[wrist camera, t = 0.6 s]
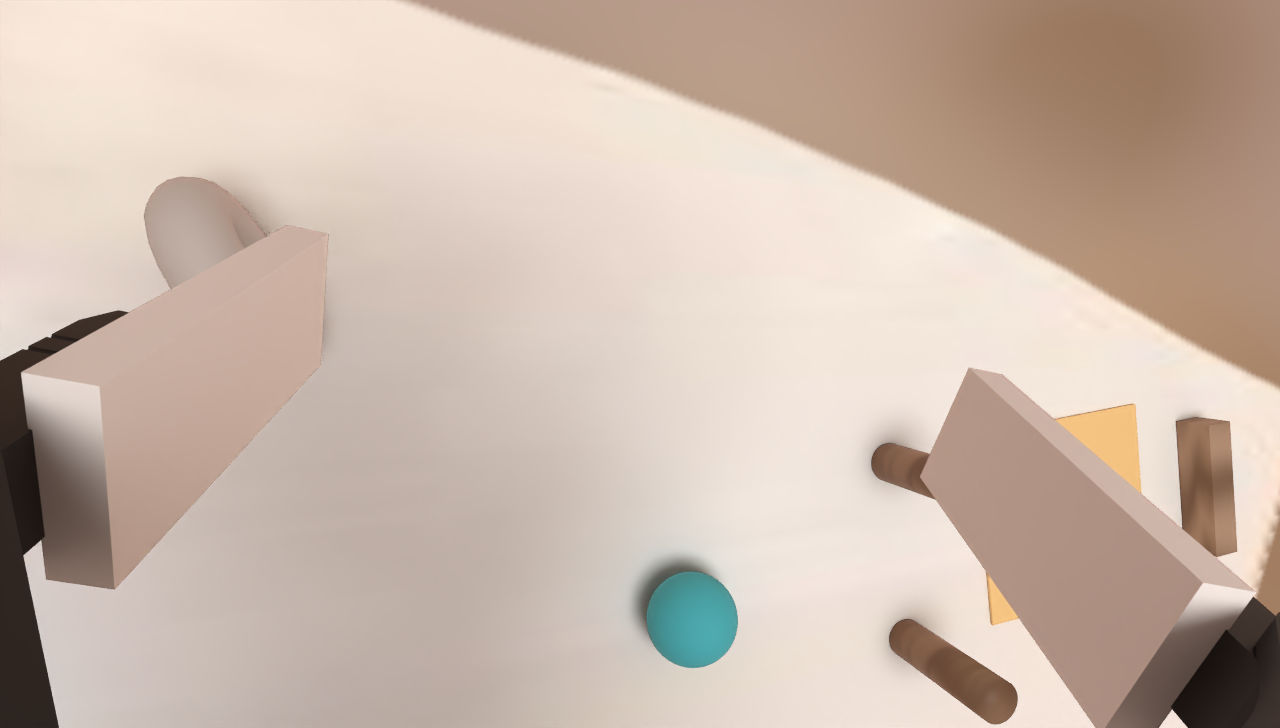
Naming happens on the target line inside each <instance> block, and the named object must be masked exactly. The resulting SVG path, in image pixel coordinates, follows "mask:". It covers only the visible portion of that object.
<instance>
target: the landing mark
mask: <svg viewBox="0 0 1280 728" xmlns="http://www.w3.org/2000/svg"><path fill="white" fill-rule="evenodd" d="M1055 420H1056V421H1057V422H1058V423H1059V424H1061V425H1062V426H1063V427H1064V428H1065V429H1066V430H1068V431H1069V432H1070V433H1071V434H1072V435H1073V436H1075V437H1076V438H1077V439H1078V440H1079V441H1080V442H1082V443H1083V444H1084V445H1085V446H1086V447H1087V448H1089V449H1090V450H1091V451H1092V452H1093V453H1094V454H1096V455H1097V456H1098V457H1099V458H1100V459H1101V460H1103V461H1104V462H1105V463H1106V464H1107V465H1108V466H1110V467H1111V468H1112V469H1113V470H1114V471H1115V472H1117V473H1118V474H1119V475H1120V476H1121V477H1122V478H1124V479H1125V480H1126V481H1127V482H1128V483H1129V484H1131V485H1132V486H1133V487H1134V488H1135V489H1136V490H1138V491H1139V492H1140V493H1141V481H1140V467H1139V452H1138V437H1137V423H1136V408H1135V404H1130V405H1125V406H1120V407H1115V408H1110V409H1105V410H1100V411H1095V412H1090V413H1084V414H1079V415H1074V416H1069V417H1064V418H1059V419H1055ZM987 583H988V594H989V605H990V617H991V624H992V625H996V624H1000V623H1003V622H1007V621H1011V620H1014V619H1018V616H1017V615H1016V613H1015V612H1014V610H1013V609H1012V608H1011V606H1010V605H1009V603H1008V602H1007V600H1006V599H1005V598H1004V596H1003V595H1002V593H1001V592H1000V590H999V589H998V588H997V586H996V585H995V583H994V582H993V581H992V579H991V578H990V576H989V575H988V573H987Z"/></svg>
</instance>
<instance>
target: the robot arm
mask: <svg viewBox="0 0 1280 728" xmlns="http://www.w3.org/2000/svg"><path fill="white" fill-rule="evenodd" d="M328 236H329V234H326V233H322V232H317V231H312V230H307V229H302V228H298V227H293V226H288V225H286V226H284V227H283V228H281V229H279V230H277V231H275V232H274V233H272V234H270V235H268V236H266V237H265V238H263V239H261V240H259V241H257V242H256V243H254V244H252V245H250V246H248V247H247V248H245V249H243V250H241V251H239V252H237V253H236V254H234V255H232V256H230V257H228V258H227V259H225V260H223V261H221V262H219V263H218V264H216V265H214V266H212V267H210V268H209V269H207V270H205V271H203V272H201V273H200V274H198V275H196V276H194V277H192V278H191V279H189V280H187V281H185V282H183V283H182V284H180V285H178V286H176V287H174V288H172V289H171V290H169V291H167V292H165V293H163V294H162V295H160V296H158V297H156V298H154V299H153V300H151V301H149V302H147V303H145V304H144V305H142V306H140V307H138V308H136V309H135V310H133V311H131V312H124V311H114V312H110V313H106V314H102V315H97V316H93V317H89V318H85V319H81V320H78V321H76V322H74V323H73V324H71V325H69V326H67V327H65V328H63V329H61V330H59V331H57V332H55V333H53V334H52V336H51V338H49V337H45V338H43V339H42V340H40V341H38V342H36V343H34V344H32V345H30V346H29V347H28V350H24V349H22V350H20V351H18V352H16V353H14V354H12V355H11V356H9V357H7V358H5V359H3V360H1V361H0V728H59V726H58V721H57V716H56V711H55V707H54V702H53V697H52V692H51V687H50V683H49V678H48V673H47V668H46V663H45V659H44V654H43V649H42V644H41V639H40V634H39V630H38V625H37V620H36V615H35V610H34V606H33V601H32V596H31V591H30V586H29V582H28V577H27V572H26V567H25V562H24V557H23V555H24V554H25V553H26V552H28V551H29V550H30V549H31V548H32V547H33V546H35V545H36V544H37V543H38V542H39V541H40V540H41V541H42V549H43V557H44V566H45V574H46V579H47V580H54V581H60V582H67V583H74V584H81V585H88V586H94V587H101V588H108V589H116V588H117V586H118V585H119V584H120V583H121V582H122V581H123V580H124V579H125V578H126V577H127V576H128V574H129V573H130V572H131V571H132V570H133V569H134V568H135V567H136V566H137V565H138V564H139V562H140V561H141V560H142V559H143V558H144V557H145V556H146V555H147V554H148V553H149V552H150V550H151V549H152V548H153V547H154V546H155V545H156V544H157V543H158V542H159V541H160V540H161V538H162V537H163V536H164V535H165V534H166V533H167V532H168V531H169V530H170V529H171V528H172V526H173V525H174V524H175V523H176V522H177V521H178V520H179V519H180V518H181V517H182V516H183V514H184V513H185V512H186V511H187V510H188V509H189V508H190V507H191V506H192V505H193V504H194V502H195V501H196V500H197V499H198V498H199V497H200V496H201V495H202V494H203V493H204V492H205V490H206V489H207V488H208V487H209V486H210V485H211V484H212V483H213V482H214V481H215V480H216V478H217V477H218V476H219V475H220V474H221V473H222V472H223V471H224V470H225V469H226V468H227V466H228V465H229V464H230V463H231V462H232V461H233V460H234V459H235V458H236V457H237V456H238V454H239V453H240V452H241V451H242V450H243V449H244V448H245V447H246V446H247V445H248V444H249V442H250V441H251V440H252V439H253V438H254V437H255V436H256V435H257V434H258V433H259V432H260V430H261V429H262V428H263V427H264V426H265V425H266V424H267V423H268V422H269V421H270V420H271V418H272V417H273V416H274V415H275V414H276V413H277V412H278V411H279V410H280V409H281V408H282V406H283V405H284V404H285V403H286V402H287V401H288V400H289V399H290V398H291V397H292V396H293V394H294V393H295V392H296V391H297V390H298V389H299V388H300V387H301V386H302V385H303V384H304V382H305V381H306V380H307V379H308V378H309V377H310V376H311V375H312V374H313V373H314V372H315V370H316V369H317V368H318V367H319V366H320V365H321V354H322V337H323V320H324V304H325V287H326V270H327V253H328ZM920 478H921V479H922V481H923V482H924V484H925V485H926V486H927V488H928V489H929V491H930V492H931V494H932V495H933V496H934V498H935V499H936V501H937V502H938V503H939V505H940V506H941V508H942V509H943V511H944V512H945V513H946V515H947V516H948V518H949V519H950V521H951V522H952V523H953V525H954V526H955V528H956V529H957V531H958V532H959V533H960V535H961V536H962V538H963V539H964V541H965V542H966V543H967V545H968V546H969V548H970V549H971V551H972V552H973V553H974V555H975V556H976V558H977V559H978V561H979V562H980V563H981V565H982V566H983V568H984V569H985V571H986V572H987V573H988V575H989V576H990V578H991V579H992V581H993V582H994V583H995V585H996V586H997V588H998V589H999V590H1000V592H1001V593H1002V595H1003V596H1004V598H1005V599H1006V600H1007V602H1008V603H1009V605H1010V606H1011V608H1012V609H1013V610H1014V612H1015V613H1016V615H1017V616H1018V618H1019V619H1020V620H1021V622H1022V623H1023V625H1024V626H1025V628H1026V629H1027V630H1028V632H1029V633H1030V635H1031V636H1032V638H1033V639H1034V640H1035V642H1036V643H1037V645H1038V646H1039V648H1040V649H1041V650H1042V652H1043V653H1044V655H1045V656H1046V658H1047V659H1048V660H1049V662H1050V663H1051V665H1052V666H1053V667H1054V669H1055V670H1056V672H1057V673H1058V675H1059V676H1060V677H1061V679H1062V680H1063V682H1064V683H1065V685H1066V686H1067V687H1068V689H1069V690H1070V692H1071V693H1072V695H1073V696H1074V697H1075V699H1076V700H1077V702H1078V703H1079V705H1080V706H1081V707H1082V709H1083V710H1084V712H1085V713H1086V715H1087V716H1088V717H1089V719H1090V720H1091V722H1092V723H1093V725H1094V726H1095V727H1096V728H1159V727H1160V725H1161V724H1162V722H1163V721H1164V720H1165V718H1166V717H1167V715H1168V714H1169V713H1170V711H1171V710H1172V709H1173V711H1174V712H1175V713H1176V714H1177V715H1178V717H1179V718H1180V719H1181V720H1182V721H1183V723H1184V724H1185V725H1186V726H1187V727H1188V728H1280V612H1279V613H1278V614H1277V616H1275V615H1274V614H1273V613H1271V612H1270V611H1269V610H1268V609H1267V608H1266V607H1264V606H1263V605H1262V604H1261V603H1260V602H1259V601H1258V600H1257V599H1255V598H1254V597H1253V596H1254V594H1255V593H1256V592H1255V591H1254V590H1253V589H1252V588H1251V587H1250V586H1248V585H1247V584H1246V583H1245V582H1244V581H1243V580H1241V579H1240V578H1239V577H1238V576H1237V575H1236V574H1234V573H1233V572H1232V571H1231V570H1230V569H1229V568H1227V567H1226V566H1225V565H1224V564H1223V563H1222V562H1220V561H1219V560H1218V559H1217V558H1216V557H1215V556H1213V555H1212V554H1211V553H1210V552H1209V551H1208V550H1206V549H1205V548H1204V547H1203V546H1202V545H1201V544H1199V543H1198V542H1197V541H1196V540H1195V539H1194V538H1192V537H1191V536H1190V535H1189V534H1188V533H1187V532H1185V531H1184V530H1183V529H1182V528H1181V527H1180V526H1178V525H1177V524H1176V523H1175V522H1174V521H1173V520H1171V519H1170V518H1169V517H1168V516H1167V515H1166V514H1164V513H1163V512H1162V511H1161V510H1160V509H1159V508H1157V507H1156V506H1155V505H1154V504H1153V503H1152V502H1150V501H1149V500H1148V499H1147V498H1146V497H1145V496H1143V495H1142V494H1141V493H1140V492H1139V491H1138V490H1136V489H1135V488H1134V487H1133V486H1132V485H1131V484H1129V483H1128V482H1127V481H1126V480H1125V479H1124V478H1122V477H1121V476H1120V475H1119V474H1118V473H1117V472H1115V471H1114V470H1113V469H1112V468H1111V467H1110V466H1108V465H1107V464H1106V463H1105V462H1104V461H1103V460H1101V459H1100V458H1099V457H1098V456H1097V455H1096V454H1094V453H1093V452H1092V451H1091V450H1090V449H1089V448H1087V447H1086V446H1085V445H1084V444H1083V443H1082V442H1080V441H1079V440H1078V439H1077V438H1076V437H1075V436H1073V435H1072V434H1071V433H1070V432H1069V431H1068V430H1066V429H1065V428H1064V427H1063V426H1062V425H1061V424H1059V423H1058V422H1057V421H1056V420H1055V419H1054V418H1052V417H1051V416H1050V415H1049V414H1048V413H1047V412H1045V411H1044V410H1043V409H1042V408H1041V407H1040V406H1038V405H1037V404H1036V403H1035V402H1034V401H1033V400H1031V399H1030V398H1029V397H1028V396H1027V395H1026V394H1024V393H1023V392H1022V391H1021V390H1020V389H1019V388H1017V387H1016V386H1015V385H1014V384H1013V383H1012V382H1010V381H1009V380H1008V379H1007V378H1006V377H1005V376H1003V375H1002V374H997V373H993V372H988V371H983V370H978V369H973V368H969V369H968V371H967V373H966V375H965V377H964V380H963V382H962V384H961V386H960V389H959V391H958V393H957V395H956V397H955V400H954V402H953V404H952V406H951V409H950V411H949V413H948V415H947V418H946V420H945V422H944V424H943V426H942V429H941V431H940V433H939V435H938V438H937V440H936V442H935V444H934V446H933V449H932V451H931V453H930V455H929V458H928V460H927V462H926V464H925V467H924V469H923V471H922V473H921V475H920Z"/></svg>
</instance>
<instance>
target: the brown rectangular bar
mask: <svg viewBox="0 0 1280 728" xmlns="http://www.w3.org/2000/svg"><path fill="white" fill-rule="evenodd" d="M1176 425H1177V441H1178V457H1179V473H1180V489H1181V504H1182V520H1183V530H1184V531H1185V532H1187V533H1188V534H1189V535H1190V536H1191V537H1192V538H1194V539H1195V540H1196V541H1197V542H1198V543H1199V544H1201V545H1202V546H1203V547H1204V548H1205V549H1206V550H1208V551H1209V552H1210V553H1211V554H1212V555H1213V556H1215V557H1218V556H1222V555H1226V554H1230V553H1233V552H1237V539H1236V521H1235V503H1234V486H1233V468H1232V450H1231V433H1230V421H1223V420H1215V419H1207V418H1199V417H1195V418H1190V419H1185V420H1181V421H1176Z"/></svg>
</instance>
